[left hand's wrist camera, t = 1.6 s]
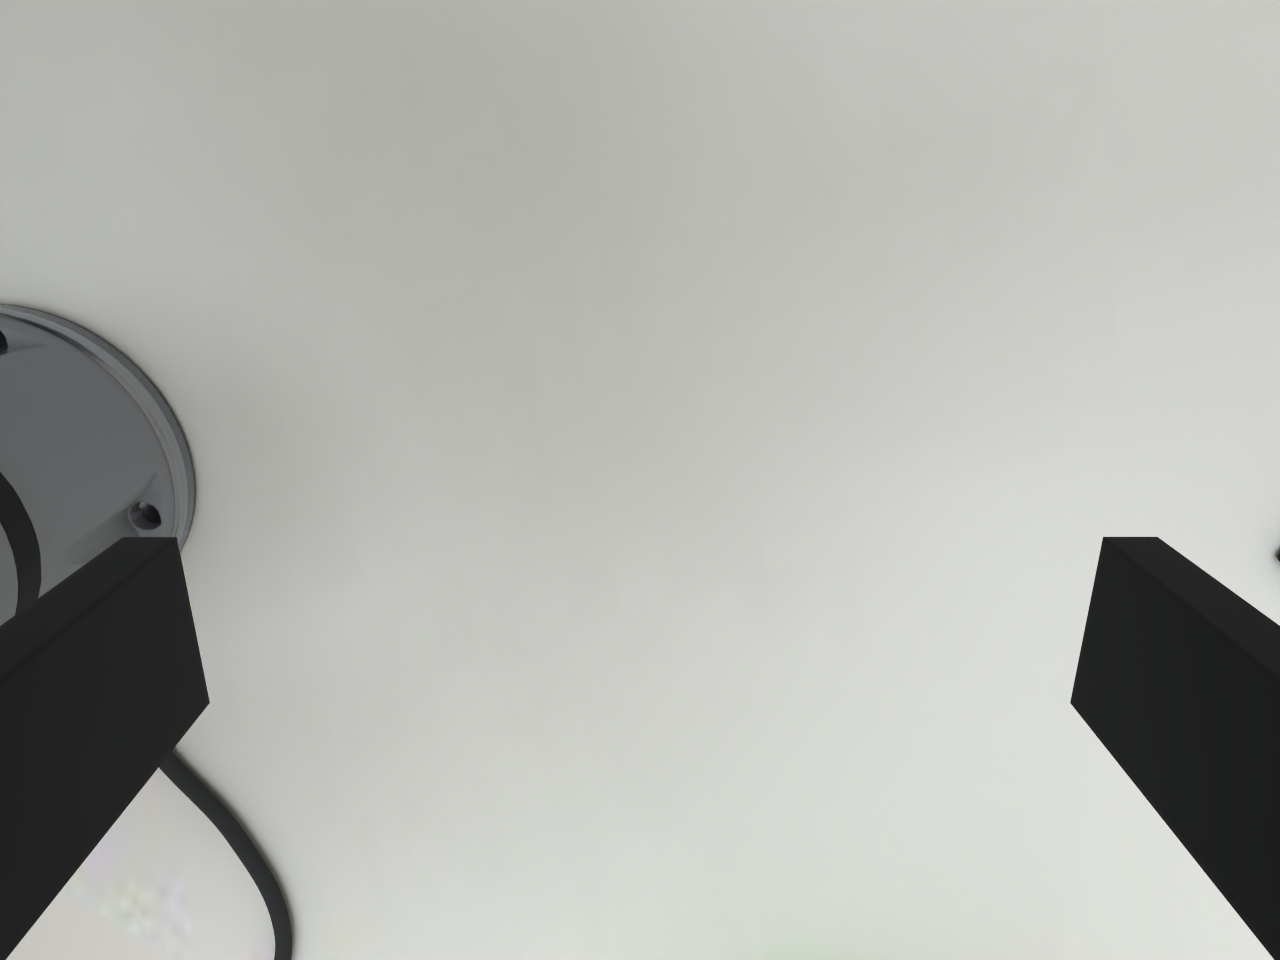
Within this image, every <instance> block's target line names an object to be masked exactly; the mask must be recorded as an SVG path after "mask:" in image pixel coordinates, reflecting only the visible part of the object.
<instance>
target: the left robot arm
mask: <svg viewBox="0 0 1280 960" xmlns="http://www.w3.org/2000/svg"><path fill="white" fill-rule="evenodd" d="M209 703H210V702H209V697H208V692H207V687H206V682H205V677H204V672H203V667H202V662H201V657H200V652H199V647H198V642H197V637H196V632H195V627H194V621H193V616H192V611H191V606H190V601H189V596H188V591H187V586H186V581H185V576H184V571H183V566H182V561H181V556H180V551H179V546H178V541H177V537H122V538H121V539H119V540H118V541H116V542H115V543H114V544H112V545H111V546H110V547H108V548H107V549H105V550H104V551H103V552H101V553H100V554H99V555H97V556H96V557H94V558H93V559H92V560H90V561H89V562H88V563H86V564H85V565H83V566H82V567H81V568H79V569H78V570H77V571H75V572H74V573H72V574H71V575H70V576H68V577H67V578H66V579H64V580H63V581H61V582H60V583H59V584H57V585H56V586H55V587H53V588H52V589H50V590H49V591H48V592H46V593H45V594H44V595H42V596H41V597H39V598H38V599H37V600H35V601H34V602H33V603H31V604H30V605H28V606H27V607H26V608H24V609H23V610H22V611H20V612H19V613H17V614H16V615H15V616H13V617H12V618H11V619H9V620H8V621H6V622H5V623H4V624H2V625H1V626H0V960H6V959H7V957H8V956H9V955H10V953H11V952H12V951H13V950H14V948H15V947H16V946H17V945H18V943H19V942H20V941H21V940H22V938H23V937H24V936H25V935H26V933H27V932H28V931H29V929H30V928H31V927H32V926H33V925H34V923H35V922H36V921H37V919H38V918H39V917H40V916H41V914H42V913H43V912H44V911H45V909H46V908H47V907H48V906H49V904H50V903H51V902H52V901H53V899H54V898H55V897H56V896H57V894H58V893H59V892H60V891H61V889H62V888H63V887H64V885H65V884H66V883H67V882H68V880H69V879H70V878H71V877H72V875H73V874H74V873H75V872H76V870H77V869H78V868H79V867H80V865H81V864H82V863H83V862H84V860H85V859H86V858H87V857H88V855H89V854H90V853H91V852H92V850H93V849H94V848H95V846H96V845H97V844H98V843H99V841H100V840H101V839H102V838H103V836H104V835H105V834H106V833H107V831H108V830H109V829H110V828H111V826H112V825H113V824H114V823H115V821H116V820H117V819H118V818H119V816H120V815H121V814H122V812H123V811H124V810H125V809H126V807H127V806H128V805H129V804H130V802H131V801H132V800H133V799H134V797H135V796H136V795H137V794H138V792H139V791H140V790H141V789H142V787H143V786H144V785H145V784H146V782H147V781H148V780H149V778H150V777H151V776H152V775H153V773H154V772H155V771H156V770H157V768H158V767H159V766H160V765H161V763H162V762H163V761H164V760H165V758H166V757H167V756H168V755H169V753H170V752H171V751H172V750H173V748H174V747H175V746H176V744H177V743H178V742H179V741H180V739H181V738H182V737H183V736H184V734H185V733H186V732H187V731H188V729H189V728H190V727H191V726H192V724H193V723H194V722H195V721H196V719H197V718H198V717H199V716H200V714H201V713H202V712H203V711H204V709H205V708H206V707H207V705H208V704H209ZM1070 703H1071V704H1072V705H1073V707H1074V708H1075V709H1076V711H1077V712H1078V713H1079V714H1080V716H1081V717H1082V718H1083V719H1084V721H1085V722H1086V723H1087V724H1088V726H1089V727H1090V728H1091V729H1092V731H1093V732H1094V733H1095V734H1096V736H1097V737H1098V738H1099V739H1100V741H1101V742H1102V743H1103V745H1104V746H1105V747H1106V748H1107V750H1108V751H1109V752H1110V753H1111V755H1112V756H1113V757H1114V758H1115V760H1116V761H1117V762H1118V763H1119V765H1120V766H1121V767H1122V768H1123V770H1124V771H1125V772H1126V773H1127V775H1128V776H1129V777H1130V778H1131V780H1132V781H1133V782H1134V784H1135V785H1136V786H1137V787H1138V789H1139V790H1140V791H1141V792H1142V794H1143V795H1144V796H1145V797H1146V799H1147V800H1148V801H1149V802H1150V804H1151V805H1152V806H1153V807H1154V809H1155V810H1156V811H1157V812H1158V814H1159V815H1160V816H1161V818H1162V819H1163V820H1164V821H1165V823H1166V824H1167V825H1168V826H1169V828H1170V829H1171V830H1172V831H1173V833H1174V834H1175V835H1176V836H1177V838H1178V839H1179V840H1180V841H1181V843H1182V844H1183V845H1184V846H1185V848H1186V849H1187V850H1188V852H1189V853H1190V854H1191V855H1192V857H1193V858H1194V859H1195V860H1196V862H1197V863H1198V864H1199V865H1200V867H1201V868H1202V869H1203V870H1204V872H1205V873H1206V874H1207V875H1208V877H1209V878H1210V879H1211V880H1212V882H1213V883H1214V884H1215V885H1216V887H1217V888H1218V889H1219V891H1220V892H1221V893H1222V894H1223V896H1224V897H1225V898H1226V899H1227V901H1228V902H1229V903H1230V904H1231V906H1232V907H1233V908H1234V909H1235V911H1236V912H1237V913H1238V914H1239V916H1240V917H1241V918H1242V919H1243V921H1244V922H1245V923H1246V925H1247V926H1248V927H1249V928H1250V930H1251V931H1252V932H1253V933H1254V935H1255V936H1256V937H1257V938H1258V940H1259V941H1260V942H1261V943H1262V945H1263V946H1264V947H1265V948H1266V950H1267V951H1268V952H1269V953H1270V955H1271V956H1272V957H1273V959H1274V960H1280V626H1279V625H1278V624H1276V623H1275V622H1274V621H1272V620H1271V619H1269V618H1268V617H1267V616H1265V615H1264V614H1263V613H1261V612H1260V611H1258V610H1257V609H1256V608H1254V607H1253V606H1252V605H1250V604H1249V603H1247V602H1246V601H1245V600H1243V599H1242V598H1241V597H1239V596H1238V595H1236V594H1235V593H1234V592H1232V591H1231V590H1230V589H1228V588H1227V587H1225V586H1224V585H1223V584H1221V583H1220V582H1219V581H1217V580H1216V579H1214V578H1213V577H1212V576H1210V575H1209V574H1208V573H1206V572H1205V571H1203V570H1202V569H1201V568H1199V567H1198V566H1197V565H1195V564H1194V563H1192V562H1191V561H1190V560H1188V559H1187V558H1186V557H1184V556H1183V555H1181V554H1180V553H1179V552H1177V551H1176V550H1175V549H1173V548H1172V547H1170V546H1169V545H1168V544H1166V543H1165V542H1164V541H1162V540H1161V539H1159V538H1158V537H1103V541H1102V546H1101V551H1100V556H1099V561H1098V566H1097V571H1096V576H1095V581H1094V586H1093V591H1092V596H1091V601H1090V606H1089V611H1088V616H1087V621H1086V626H1085V632H1084V637H1083V642H1082V647H1081V652H1080V657H1079V662H1078V667H1077V672H1076V677H1075V682H1074V687H1073V692H1072V697H1071V702H1070Z"/></svg>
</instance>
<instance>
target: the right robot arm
mask: <svg viewBox="0 0 1280 960" xmlns="http://www.w3.org/2000/svg"><path fill="white" fill-rule="evenodd" d="M194 501H195V486H194V476H193V469H192V464H191V459H190V455H189V452H188V449H187V445H186V442H185V440H184V437H183V435H182V432H181V430H180V428H179V426H178V424H177V422H176V420H175V418H174V416H173V414H172V412H171V411H170V409H169V407H168V406H167V404H166V403H165V401H164V400H163V398H162V397H161V395H160V394H159V393H158V391H157V390H156V389H155V388H154V386H153V385H152V384H151V383H150V381H149V380H148V379H147V378H146V377H145V376H144V375H143V374H142V373H141V372H140V370H139V369H137V368H136V367H135V366H134V365H133V364H132V363H131V362H130V361H129V360H128V359H127V358H126V357H124V356H123V355H122V354H121V353H119V352H118V351H117V350H116V349H114V348H113V347H112V346H110V345H109V344H107V343H106V342H104V341H103V340H102V339H100V338H99V337H97V336H95V335H94V334H92V333H90V332H88V331H87V330H85V329H83V328H81V327H79V326H77V325H75V324H73V323H70V322H68V321H66V320H64V319H61V318H58V317H56V316H53V315H50V314H47V313H44V312H40V311H36V310H33V309H29V308H23V307H17V306H10V305H0V626H1V625H2V624H4V623H5V622H6V621H8V620H9V619H11V618H12V617H13V616H15V615H16V614H17V613H19V612H20V611H22V610H23V609H24V608H26V607H27V606H28V605H30V604H31V603H33V602H34V601H35V600H37V599H38V598H39V597H41V596H42V595H44V594H45V593H46V592H48V591H49V590H50V589H52V588H53V587H55V586H56V585H57V584H59V583H60V582H61V581H63V580H64V579H66V578H67V577H68V576H70V575H71V574H72V573H74V572H75V571H77V570H78V569H79V568H81V567H82V566H83V565H85V564H86V563H88V562H89V561H90V560H92V559H93V558H94V557H96V556H97V555H99V554H100V553H101V552H103V551H104V550H105V549H107V548H108V547H110V546H111V545H112V544H114V543H115V542H116V541H118V540H119V539H121V538H122V537H177V541H178V546H179V551H180V550H181V548H182V546H183V544H184V542H185V540H186V537H187V535H188V532H189V529H190V525H191V521H192V517H193V510H194ZM159 768H160V769H161V770H162V771H163V772H164V773H165V774H166V776H167V777H168V778H169V779H170V780H171V781H172V782H173V783H174V784H175V785H176V786H177V787H178V788H179V789H180V790H181V791H182V792H183V793H184V794H185V795H186V796H187V797H188V798H189V799H190V800H191V801H192V802H193V803H194V804H195V805H196V806H197V807H198V808H199V809H200V810H201V811H202V812H203V813H204V814H205V815H206V816H207V817H208V818H209V819H210V820H211V821H212V823H213V824H214V825H215V826H216V827H217V828H218V830H219V831H220V832H221V833H222V835H223V836H224V837H225V839H226V840H227V841H228V843H229V844H230V846H231V847H232V849H233V850H234V851H235V853H236V854H237V856H238V857H239V859H240V860H241V862H242V863H243V864H244V866H245V867H246V869H247V870H248V872H249V874H250V875H251V877H252V878H253V880H254V882H255V883H256V885H257V887H258V889H259V890H260V892H261V894H262V896H263V899H264V901H265V903H266V906H267V908H268V911H269V914H270V917H271V921H272V925H273V929H274V935H275V959H274V960H291V953H292V936H291V928H290V922H289V917H288V913H287V909H286V905H285V902H284V899H283V897H282V894H281V892H280V889H279V887H278V885H277V883H276V881H275V879H274V877H273V875H272V873H271V872H270V870H269V868H268V867H267V865H266V863H265V862H264V860H263V859H262V857H261V855H260V854H259V852H258V851H257V849H256V848H255V846H254V845H253V844H252V842H251V841H250V839H249V838H248V836H247V835H246V833H245V832H244V830H243V829H242V828H241V826H240V825H239V824H238V822H237V821H236V820H235V818H234V817H233V816H232V815H231V813H230V812H229V811H228V810H227V809H226V808H225V807H224V805H223V804H222V803H221V802H220V801H219V800H218V799H217V798H216V797H215V796H214V795H213V794H212V793H211V792H210V791H209V790H208V789H207V788H206V787H205V786H204V785H203V784H202V783H201V782H200V781H199V780H198V779H197V778H196V777H195V776H194V775H193V774H192V773H191V772H190V771H189V770H188V769H187V768H186V767H185V766H184V764H183V763H182V762H181V761H180V760H179V759H178V758H177V757H176V756H175V754H174V753H173V752H172V751H171V752H170V753H169V755H168V756H167V757H166V758H165V760H164V761H163V762H162V763H161V765H160V766H159Z"/></svg>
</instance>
